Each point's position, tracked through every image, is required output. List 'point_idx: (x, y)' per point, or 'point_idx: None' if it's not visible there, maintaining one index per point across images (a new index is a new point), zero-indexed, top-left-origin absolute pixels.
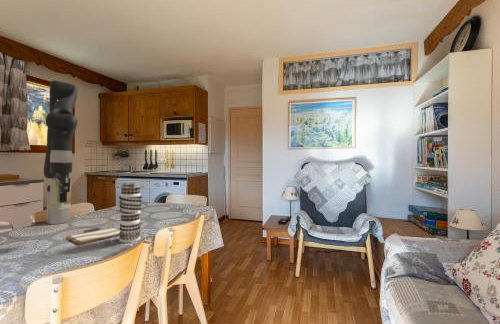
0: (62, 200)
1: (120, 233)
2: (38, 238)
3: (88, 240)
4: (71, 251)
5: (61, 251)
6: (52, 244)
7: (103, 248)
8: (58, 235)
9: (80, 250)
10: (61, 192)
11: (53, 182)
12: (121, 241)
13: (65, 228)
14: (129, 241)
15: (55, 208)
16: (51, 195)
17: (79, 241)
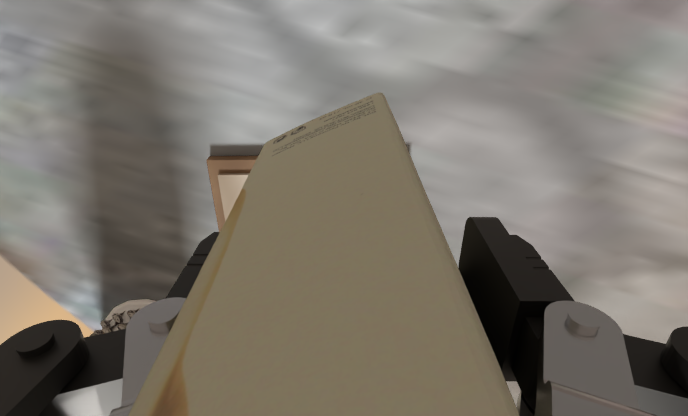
0: (204, 242)
1: (122, 327)
2: (553, 37)
3: (223, 207)
4: (119, 91)
5: (154, 53)
6: (338, 59)
7: (75, 213)
8: (511, 144)
9: (109, 129)
10: (131, 322)
11: None
12: (134, 300)
13: (634, 219)
14: (105, 319)
15: (284, 135)
16: (362, 176)
17: (242, 172)
